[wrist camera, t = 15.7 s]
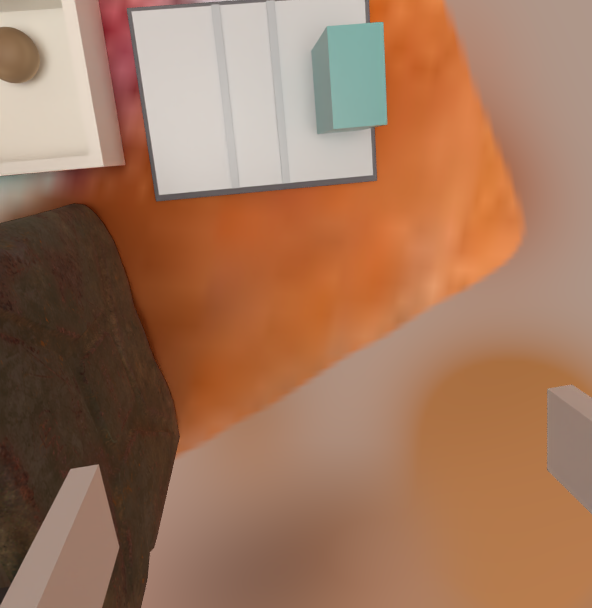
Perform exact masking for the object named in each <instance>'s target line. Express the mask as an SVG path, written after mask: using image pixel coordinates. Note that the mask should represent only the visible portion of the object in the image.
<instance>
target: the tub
mask: <svg viewBox="0 0 592 608" xmlns="http://www.w3.org/2000/svg"><path fill="white" fill-rule="evenodd" d="M0 27H12V28H15V29H18V30H20V31H22V32H24V33H25V34H26V35H28V36H29V37H30V38H31V39H32V41H33V42H34V43H35V45H36V47H37V49H38V52H39V56H40V64H39V69H38V71H37V73H36V74H35V75H34V77H33V78H31V79H30V80H28V81H26V82H23V83H9V82H6V81H3V80H1V79H0V176H8V175H19V174H31V173H42V172H53V171H64V170H76V169H87V168H98V167H109V166H120V165H125V159H124V153H123V147H122V140H121V134H120V128H119V122H118V116H117V110H116V104H115V98H114V92H113V86H112V80H111V74H110V68H109V61H108V55H107V49H106V43H105V37H104V31H103V25H102V19H101V13H100V7H99V1H98V0H0Z"/></svg>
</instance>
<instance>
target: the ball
mask: <svg viewBox="0 0 592 608" xmlns="http://www.w3.org/2000/svg"><path fill="white" fill-rule="evenodd" d="M39 64H40V56H39V52H38V49H37V47H36V45H35V43H34V42H33V41H32V39H31V38H30V37H29V36H28V35H26V34H25V33H24V32H22V31H20V30H18V29H15V28H12V27H0V79H1V80H3V81H6V82H9V83H23V82H26V81H28V80H30V79H31V78H33V77H34V75H35V74H36V73H37V71H38V69H39Z"/></svg>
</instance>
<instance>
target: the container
mask: <svg viewBox="0 0 592 608" xmlns="http://www.w3.org/2000/svg"><path fill="white" fill-rule="evenodd" d="M179 437H180V436H179V431H178V425H177V419H176V412H175V407H174V403H173V399H172V397H171V394H170V391H169V389H168V386H167V383H166V381H165V379H164V377H163V375H162V373H161V371H160V369H159V367H158V365H157V363H156V361H155V359H154V357H153V354H152V351H151V349H150V346H149V343H148V340H147V337H146V334H145V332H144V329H143V326H142V324H141V322H140V319H139V317H138V314H137V312H136V309H135V307H134V303H133V299H132V294H131V290H130V286H129V282H128V279H127V276H126V273H125V270H124V268H123V265H122V262H121V259H120V256H119V254H118V251H117V248H116V245H115V243H114V241H113V239H112V237H111V236H110V234H109V232H108V231H107V229H106V227H105V226H104V224H103V223H102V221H101V220H100V219H99V217H98V216H97V215H96V214H95V213H94V212H93V211H92V210H91V209H90V208H88V207H87V206H85V205H83V204H70V205H67V206H63V207H60V208H57V209H53V210H50V211H46V212H43V213H39V214H36V215H32V216H28V217H24V218H20V219H16V220H12V221H8V222H4V223H0V588H4V587H10V586H11V584H12V582H13V580H14V578H15V576H16V574H17V572H18V570H19V568H20V566H21V564H22V562H23V560H24V558H25V556H26V555H27V553H28V551H29V549H30V547H31V545H32V543H33V541H34V539H35V537H36V535H37V533H38V531H39V529H40V527H41V525H42V523H43V522H44V520H45V518H46V516H47V514H48V512H49V510H50V508H51V506H52V504H53V502H54V500H55V498H56V496H57V494H58V492H59V490H60V489H61V487H62V485H63V483H64V481H65V479H66V477H67V475H68V473H69V471H70V469H74V468H80V467H86V466H92V465H98V464H99V468H100V472H101V476H102V480H103V484H104V488H105V492H106V496H107V500H108V504H109V508H110V512H111V516H112V520H113V524H114V528H115V532H116V536H117V540H118V544H119V550H118V554H117V557H116V561H115V564H114V568H113V571H112V575H111V578H110V582H109V585H108V589H107V592H106V596H105V599H104V603H103V606H102V608H141V605H142V601H143V596H144V592H145V587H146V583H147V578H148V567H149V556H150V551H151V550H152V549H153V548H154V546H155V542H156V539H157V535H158V530H159V526H160V521H161V517H162V513H163V508H164V504H165V499H166V495H167V490H168V486H169V481H170V477H171V473H172V468H173V464H174V460H175V455H176V451H177V446H178V442H179Z"/></svg>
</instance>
